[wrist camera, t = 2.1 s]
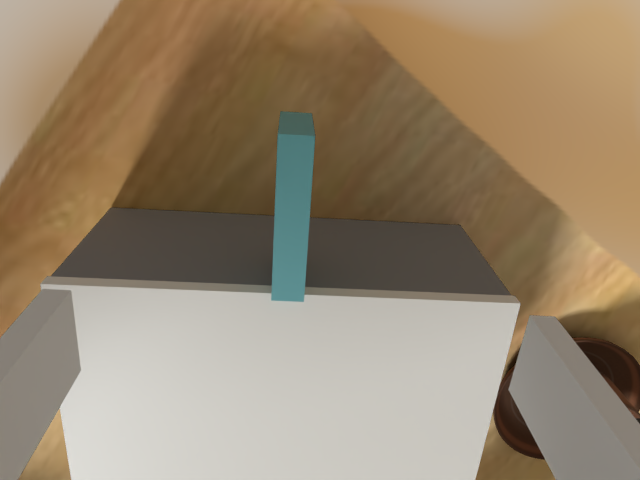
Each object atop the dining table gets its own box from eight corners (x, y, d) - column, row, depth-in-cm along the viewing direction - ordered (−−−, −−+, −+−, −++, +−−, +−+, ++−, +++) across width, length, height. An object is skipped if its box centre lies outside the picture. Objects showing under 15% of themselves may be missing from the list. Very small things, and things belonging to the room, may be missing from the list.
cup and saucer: (661, 351, 43) (715, 403, 38) (580, 456, 48) (618, 517, 42) (533, 307, 41) (571, 356, 36) (461, 422, 46) (484, 481, 40)
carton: (128, 396, 43) (83, 504, 34) (111, 207, 36) (49, 277, 27) (426, 404, 44) (459, 509, 35) (460, 225, 38) (512, 297, 29)
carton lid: (100, 464, 37) (73, 530, 32) (54, 96, 27) (5, 117, 22) (446, 471, 38) (466, 535, 34) (523, 126, 28) (567, 151, 24)
